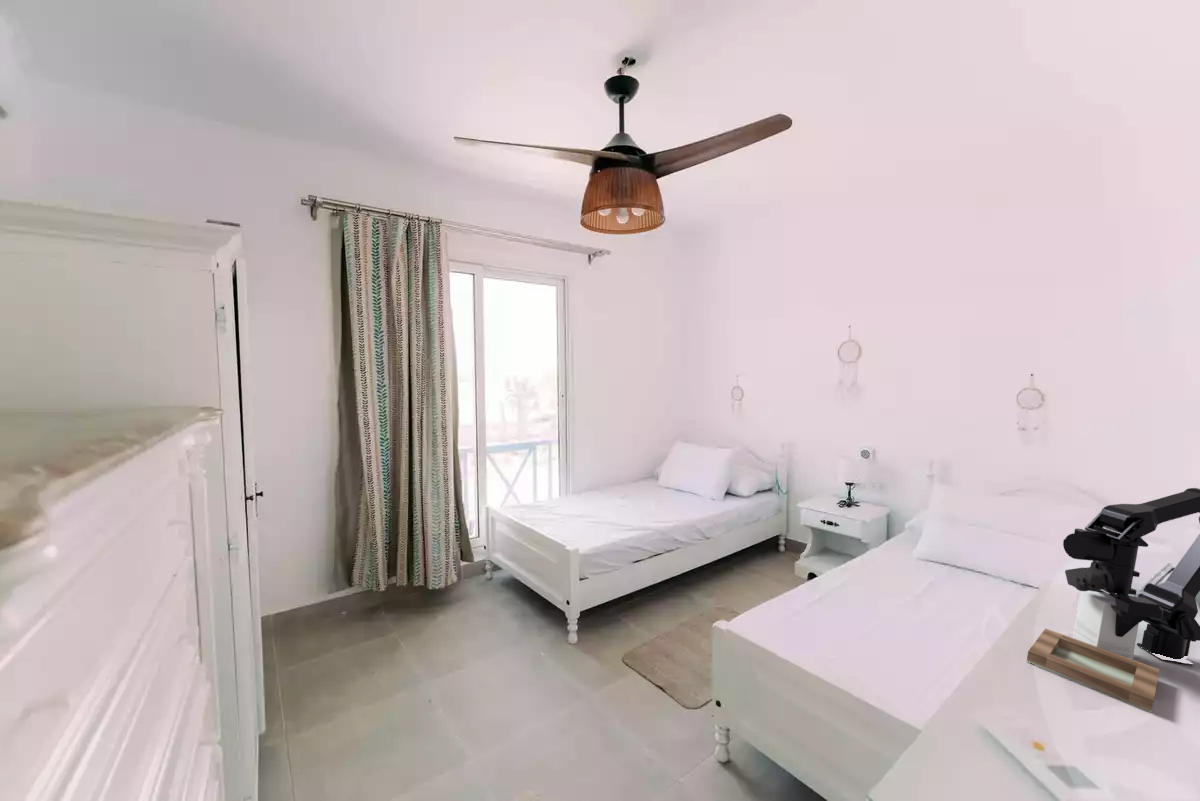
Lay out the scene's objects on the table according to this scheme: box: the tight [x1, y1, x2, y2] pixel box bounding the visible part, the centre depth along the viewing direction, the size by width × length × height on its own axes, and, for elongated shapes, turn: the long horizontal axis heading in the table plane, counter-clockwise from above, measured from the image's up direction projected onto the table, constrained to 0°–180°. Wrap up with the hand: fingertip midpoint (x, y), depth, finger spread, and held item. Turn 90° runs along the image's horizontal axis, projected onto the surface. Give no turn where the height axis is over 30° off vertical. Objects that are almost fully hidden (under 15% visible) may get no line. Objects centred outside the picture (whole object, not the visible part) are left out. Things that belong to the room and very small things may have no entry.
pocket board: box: [1026, 628, 1160, 714], centre depth 104 cm, size 18×18×2 cm
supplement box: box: [1071, 590, 1140, 660], centre depth 113 cm, size 7×7×13 cm
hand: (1104, 627), depth 113 cm, fingers closed on supplement box, 7 cm apart
